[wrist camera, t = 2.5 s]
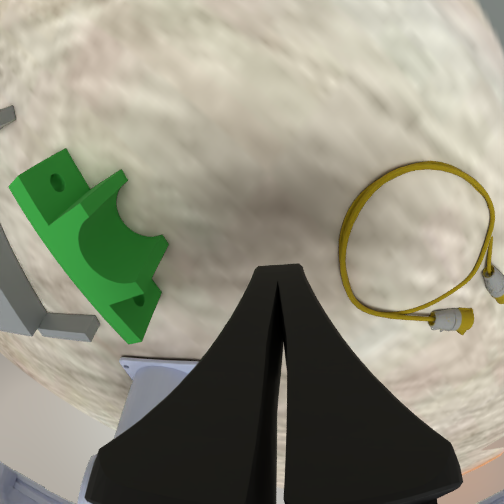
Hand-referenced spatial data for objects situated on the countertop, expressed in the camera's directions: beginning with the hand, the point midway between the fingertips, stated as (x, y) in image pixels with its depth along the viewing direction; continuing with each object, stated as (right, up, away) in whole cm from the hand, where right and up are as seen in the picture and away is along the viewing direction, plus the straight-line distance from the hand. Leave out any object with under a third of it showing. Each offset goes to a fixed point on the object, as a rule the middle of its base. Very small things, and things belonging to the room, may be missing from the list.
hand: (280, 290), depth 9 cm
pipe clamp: (-9, +3, +7) cm, 12 cm away
